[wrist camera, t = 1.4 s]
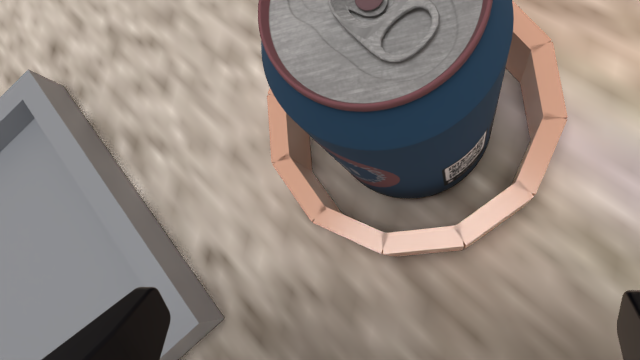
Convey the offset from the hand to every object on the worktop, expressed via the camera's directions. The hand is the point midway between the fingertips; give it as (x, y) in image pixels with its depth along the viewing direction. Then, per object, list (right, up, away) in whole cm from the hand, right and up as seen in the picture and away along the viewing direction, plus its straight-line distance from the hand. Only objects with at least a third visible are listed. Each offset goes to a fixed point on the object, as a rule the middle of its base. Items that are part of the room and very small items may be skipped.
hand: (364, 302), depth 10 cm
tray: (-17, -4, +18) cm, 25 cm away
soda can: (+4, +5, +14) cm, 15 cm away
